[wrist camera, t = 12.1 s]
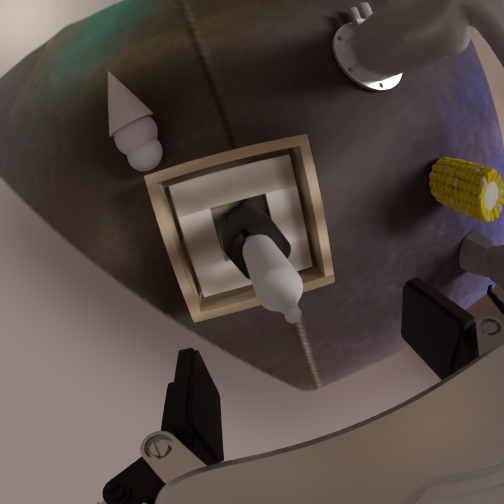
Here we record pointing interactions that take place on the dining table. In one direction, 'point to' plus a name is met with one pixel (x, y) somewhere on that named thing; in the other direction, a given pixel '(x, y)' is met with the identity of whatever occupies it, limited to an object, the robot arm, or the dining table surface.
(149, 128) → the ice cream cone
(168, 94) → the dining table surface
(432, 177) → the food
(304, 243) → the box
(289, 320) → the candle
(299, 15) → the dining table surface
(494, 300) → the coffeepot
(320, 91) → the dining table surface
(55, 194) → the dining table surface
